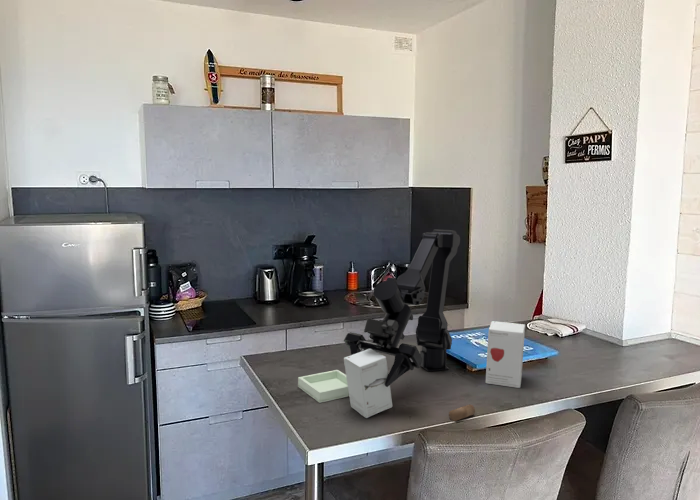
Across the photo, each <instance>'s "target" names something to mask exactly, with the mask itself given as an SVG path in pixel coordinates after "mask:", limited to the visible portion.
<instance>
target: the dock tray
mask: <svg viewBox="0 0 700 500" xmlns="http://www.w3.org/2000/svg"><path fill="white" fill-rule="evenodd" d="M297 387H298V388H299V389H301V390H302V391H303V392H304V393H305V394H307V395H308V396H310V397H311V398H313V399H314V400H315V401H316V402H318V403H325V402H330V401H333V400H334V401H335V400H338V399H342V398H347V397H349V391H348V384H347V377H346V373H344V372H342V371H340V370H339V369H334V370H330V371H325V372H324V371H323V372H318V373H314V374H309V375H303V376H298V377H297Z"/></svg>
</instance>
